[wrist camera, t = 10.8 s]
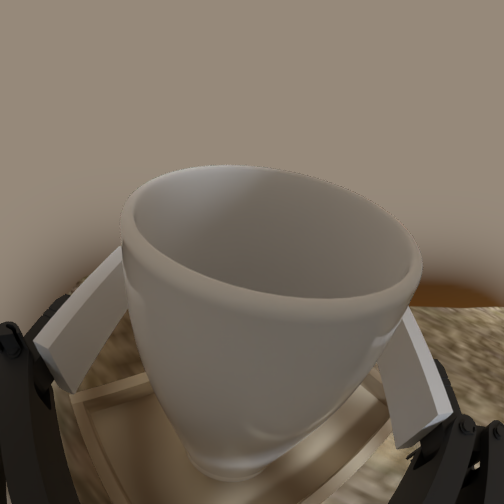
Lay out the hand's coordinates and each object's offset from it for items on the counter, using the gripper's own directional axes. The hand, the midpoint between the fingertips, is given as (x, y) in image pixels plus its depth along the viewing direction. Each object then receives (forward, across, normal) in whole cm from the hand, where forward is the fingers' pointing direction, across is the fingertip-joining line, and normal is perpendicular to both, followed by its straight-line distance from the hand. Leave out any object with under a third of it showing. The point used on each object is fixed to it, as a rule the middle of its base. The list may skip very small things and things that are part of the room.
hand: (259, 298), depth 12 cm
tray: (-2, +2, -10) cm, 10 cm away
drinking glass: (-4, 0, -9) cm, 10 cm away
